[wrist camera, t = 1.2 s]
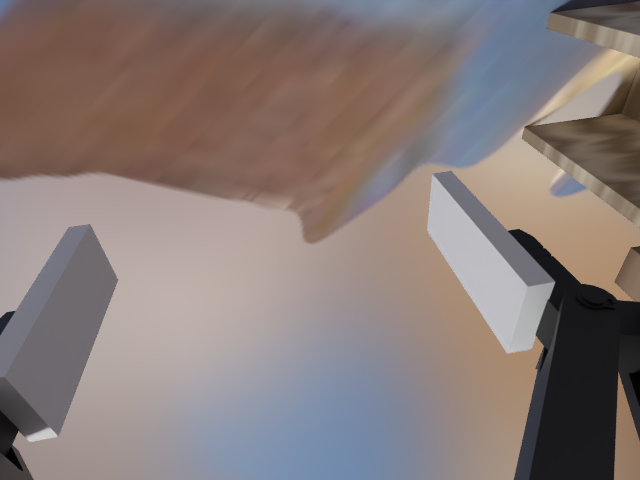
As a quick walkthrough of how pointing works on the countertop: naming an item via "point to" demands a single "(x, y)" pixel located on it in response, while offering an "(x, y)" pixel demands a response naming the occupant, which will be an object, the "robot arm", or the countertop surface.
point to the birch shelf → (605, 131)
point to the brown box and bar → (630, 274)
